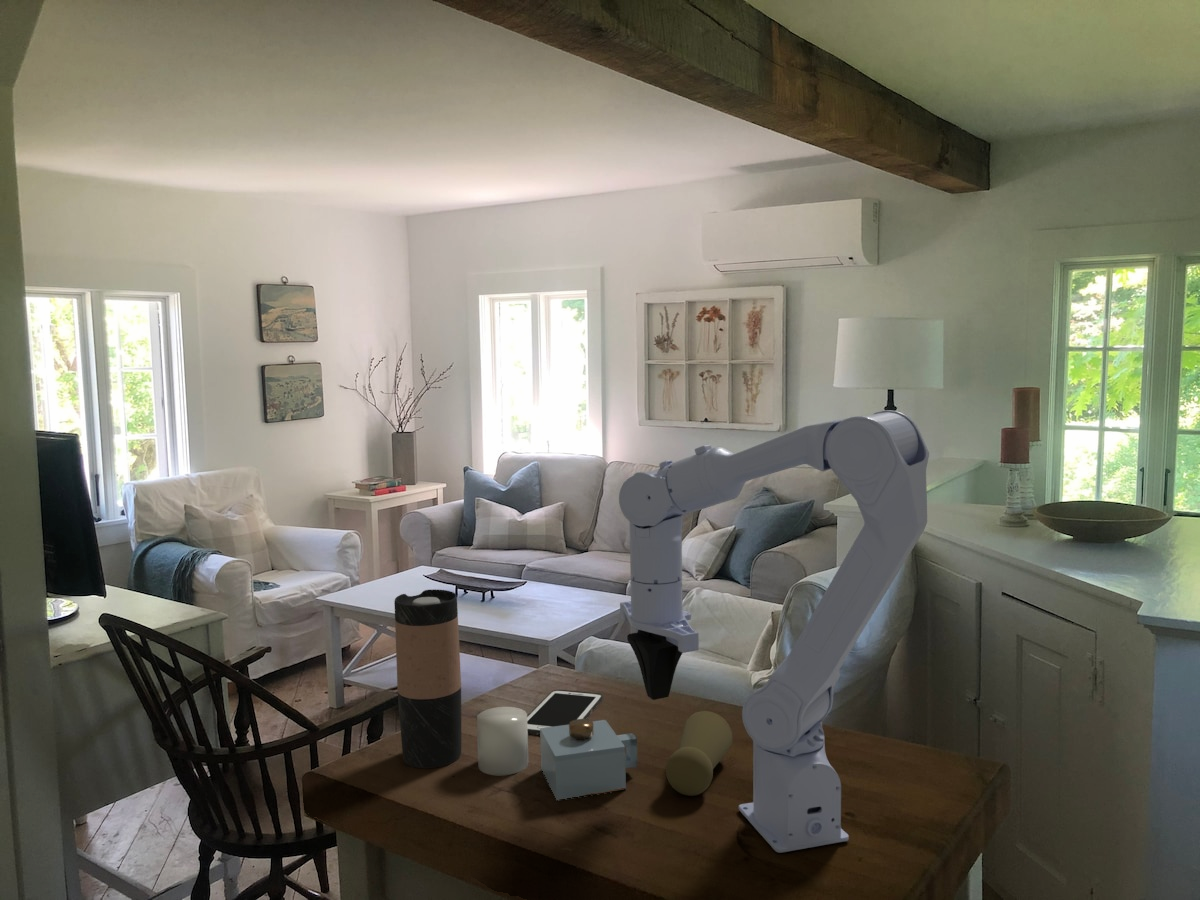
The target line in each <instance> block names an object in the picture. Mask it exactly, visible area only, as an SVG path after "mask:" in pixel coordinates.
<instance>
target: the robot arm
mask: <svg viewBox="0 0 1200 900" xmlns="http://www.w3.org/2000/svg"><path fill="white" fill-rule="evenodd" d="M924 440H925V439H924V437H923V436H922V433H921V431H920V429H919V427H918V425H917V424H916V423H915V421H914V420H913V419H912V418H911V417H909V416H908V415H906V414H904V413H902V412H900V411H897V410H890V409H889V410H888V409H885V410H880V411H876V412H874V413H873V414H869V415H865V416H863V415H857V416H851V417H847V418H841V419H837V420H836V419H835V420H832V421H831V420H830V421H825V422H820V423H815V424H810V425H806V426H803V427H800V428H797V429H795V430H793V431H791V432H788V433H785V434H782V435H780V436H776V437H775V438H772V439H770V440H767V441H764V442H762V443H759V444H757V445H754V446H752V447H750V448H747V449H744V450H742V451H739V452H736V453H735V452H733V451H731V450H729V449H728V448H725V447H722V446H715V447H712V445H711V444H706V445H702V446H698V447H697V448H694V452H695V454H693V455H691V456H689V457H685V458H682V459H680V460H677V461H675V462H673V460H671V459H669V460H664V461H662V462H660V463H659V465H658V466H659V469H656V470H651V471H647V472H645V471H638V472H635V473H634V474H633V475H632V476H630V477H628V478H627V479H626V480H625V481H624V482H623V483H622V484H621V487H620V489H619V494H618V503H619V507H620V510H621V512H622V514H623V516H624V517H625V519H626V520H627V521H629V555H630V557H629V558H630V559H629V560H630V565H629V566H630V569H629V571H630V600H629V601H624V602H623V601H622V602H620V603H619V614H620V616H619V617H620V619H621V620H623V621H628V623H629V625H630V627H632V628H634V629H636V630H637V631H636V632H632V633H629V634H628V635H627V642H628V644H629V645H630V647H631V648H632V650H633V653H634V655H635V658H636V660H637V663H638V666H639V668H640V673H641V676H642V680H643V684H644V688H645V692H646V696H647V697H648V698H649V699H651V700H652V701H656V700H660V699H667V698H668V697H670V692H671V688H672V684H673V681H674V676H675V673H676V669H677V666H678V664H679V661H680V659H681V657H682V654H684V653H690V652H695V651H699V644H700V643H699V632H698V631H696V630H695V629H693V628H692V626H691V624H690V623H689V621H691V619H692V613H691V612H689V611H687V610H684V609H683V550H682V549H683V547H682V546H683V543H682V540H683V539H682V534H683V533H682V530H683V522H684V521H683V519H684V517H685V515H689V514H692V513H695V512H698V511H700V510H705V509H707V508H711V507H714V506H717V505H719V504H723V503H725V502H728V501H733V500H735V499H737V498H738V497H739V495H740V494H741V492H742V491H743V487H744V485H745V483H746V482H748V481H752V480H754V479H757V478H761V477H766V476H768V475H772V474H775V473H779V472H782V471H786V470H788V469H791V468H795V467H798V466H802V465H808V466H810V467H812V468H814V469H816V470H817V471H820V472H826V471H829V470H831V471H832V472H833V474H834V475H835V476H836V477H837V479H838V480H839V481H840V482H841V484H842V485H843V486H844V487H845V489H846V490H847V491H848V492H849V493H850V495H851V496H852V497H853V499H854V500H855V501H856V504H857V506H858V509H859V511H860V513H861V516H862V519H863V522H864V524H863V526H862V528H861V529H860V531H859V533H858V534H857V536H856V538H855V540H854V541H853V544H852V545H851V547H850V549H849V551H848V552H847V554H846V555H845V558H844V559H843V561H842V563H841V564H840V565H839V568H838V569H837V571H836V573H835V574H834V576H833V578H832V580H831V582H830V583H829V585H828V587H827V588H826V590H825V592H824V594H823V595H822V597H821V599H820V600H819V603H818V604H817V606H816V607H815V609H814V611H813V613H812V614H811V616H810V617H809V619H808V621H807V623H806V625H805V627H804V628H803V630H802V632H801V634H800V635H799V637H798V639H797V640H796V642H795V644H794V645H793V647H792V649H791V650H790V652H789V653H788V654H787V655H786V657H784V659H783V661H781V662H780V664H779V665H778V666H777V667H776V669H775V670H774V671H773V672H772V673H771V675H770V677H769V678H768V680H767V682H766V683H765V684H764V685H763V686H761V687H760V688H757V689H756V690H755V691H753V692H751V693H750V694H749V695H748V696H747V697H746V698H745V701H744V703H743V706H742V711H741V716H742V717H741V718H742V723H743V726H744V728H745V731H746V732H747V733H746V734H748V736H749V737H750V738H751V739H752V741H753V742H752V750H753V751H752V752H753V753H752V761H753V762H752V765H753V766H752V770H753V771H752V773H753V774H752V775H753V776H752V777H753V779H752V782H753V785H752V786H753V787H752V788H753V790H752V791H753V792H752V793H753V794H752V795H753V797H752V800H753V801H752V802H747V803H746V802H745V803H741V804H739V805H738V810H739V811H740V813H741V814H742V816H744V817H745V818H746V819H747V821H748V822H749V823H750V824H751V825H752V826H753V827H754V829H755V830H756V831H757V832H758V833H759V834H760V836H762V838H763V839H764V840H765V841H766V842H767V843H768V844H769V846H771V848H772V850H774V852H776V853H778V854H781V853H787V852H793V851H798V850H804V849H808V848H815V847H821V846H822V847H823V846H825V845H826V846H827V845H832V844H837V843H843V842H848V841H849V839H850V835H849V834H848V833H847V832H846V831H844V829H842V821H841V820H842V784H841V779H840V776H839V774H838V773H837V771H836V770H835V768H834V767H833V766H832V764H830V762H829V760H828V757H827V754H826V747H825V746H826V745H825V731H824V729H823V719H825V718H826V717H827V716H828V715H829V713H831V710H832V707H833V704H834V689H835V686H836V684H837V682H838V680H839V679H840V677H841V672H840V669H841V668H842V665H843V664H844V663H845V661H846V659H847V657H848V656H849V654H850V653H851V651H852V650H853V647H854V646H855V644H856V643H857V641H858V639H859V638H860V636H861V634H862V633H863V631H864V629H865V628H866V626H867V625H868V623H869V622H870V620H871V618H872V616H873V615H874V613H875V612H876V610H877V608H878V606H879V605H880V603H881V602H882V600H883V599H884V596H885V595H886V594H887V592H888V590H889V589H890V587H891V585H892V584H893V582H894V580H895V579H896V577H897V576H898V574H899V573H900V571H901V569H902V567H903V566H904V564H905V562H906V560H908V558H909V556H910V554H911V552H912V550H913V549H914V547H915V546H916V544H917V543H918V541H919V539H920V538H921V536H922V534H923V533H924V531H925V529H926V526H927V523H928V499H927V497H928V496H927V494H928V493H927V492H928V491H927V467H928V462H929V458H930V452H929V449H928V446H927V445H926V443H925V441H924Z"/></svg>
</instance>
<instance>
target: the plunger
mask: <svg viewBox="0 0 1200 900" xmlns="http://www.w3.org/2000/svg"><path fill="white" fill-rule="evenodd" d="M592 721H593V720H590V719H589V718H587V719H576V720H573V721H571V722H570V723H569V735H570V736H571V737H572V738H576V739H578V740H584V739H585V738H589V737H591V736H593V734H594V729H593V722H592Z"/></svg>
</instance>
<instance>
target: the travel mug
mask: <svg viewBox="0 0 1200 900" xmlns="http://www.w3.org/2000/svg"><path fill="white" fill-rule="evenodd" d="M458 614H459V612H458V598H457V594H456V593H455V592H454V591H450V590H445V589H424V590H423V591H422V592H421V593H420V594H416V595H411V596H410V595H407V594H406V593H401V594H399V595H398V596H396V597H395V598H394V626H395V627H394V629H395V656H396V658H395V659H396V680H397V681H396V685H397V699H398V700H397V702H398V713H399V727H400V738H401V749H402V750H401V751H402V758H403V759H402V760H403V762H404V763H405V764H406V765H408V766H409V767H412V768H418V769H435V768H441V767H445V766H447V765H450V764H452V763H455V762H457V760H458V759H460V757H461V755H462V675H461V655H460V653H461V652H460V635H459V633H460V632H459V616H458Z"/></svg>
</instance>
